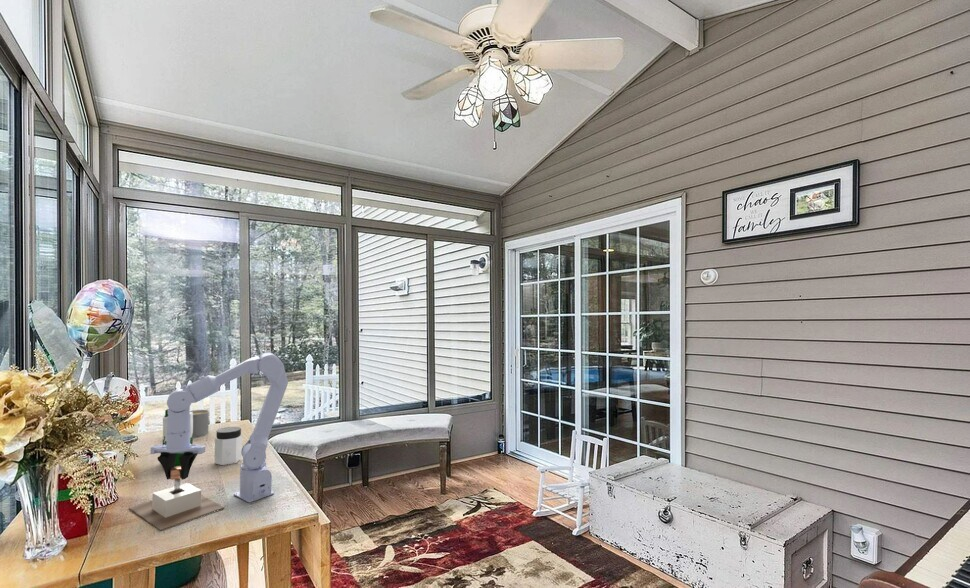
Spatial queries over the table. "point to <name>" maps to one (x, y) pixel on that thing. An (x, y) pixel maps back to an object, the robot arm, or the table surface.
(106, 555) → the table surface
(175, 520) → the board
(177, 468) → the plunger
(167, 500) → the hollow square block
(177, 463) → the milk carton
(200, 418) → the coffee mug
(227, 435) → the jar
